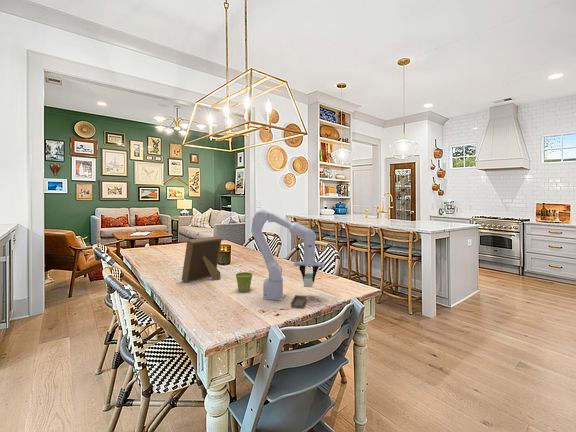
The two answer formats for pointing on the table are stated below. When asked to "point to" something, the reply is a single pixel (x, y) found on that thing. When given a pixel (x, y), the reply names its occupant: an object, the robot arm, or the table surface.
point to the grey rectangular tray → (298, 301)
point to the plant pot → (244, 281)
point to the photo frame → (201, 259)
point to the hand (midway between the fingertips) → (308, 281)
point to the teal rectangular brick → (308, 280)
